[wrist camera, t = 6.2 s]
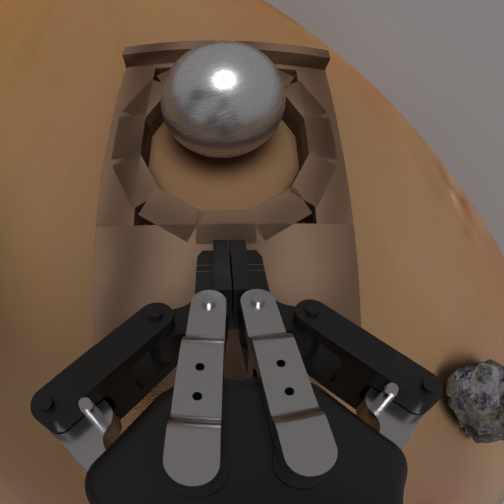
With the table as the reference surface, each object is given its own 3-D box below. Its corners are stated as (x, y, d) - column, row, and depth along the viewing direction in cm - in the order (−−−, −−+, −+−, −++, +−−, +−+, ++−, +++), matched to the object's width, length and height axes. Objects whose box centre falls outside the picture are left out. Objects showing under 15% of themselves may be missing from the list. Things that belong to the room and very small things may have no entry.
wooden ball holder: (111, 378, 17) (89, 393, 13) (134, 78, 22) (125, 47, 18) (345, 370, 19) (372, 381, 15) (314, 80, 23) (327, 50, 20)
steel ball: (164, 36, 16) (194, 115, 23) (121, 97, 13) (172, 187, 20) (278, 17, 15) (289, 106, 22) (277, 70, 11) (290, 180, 19)
